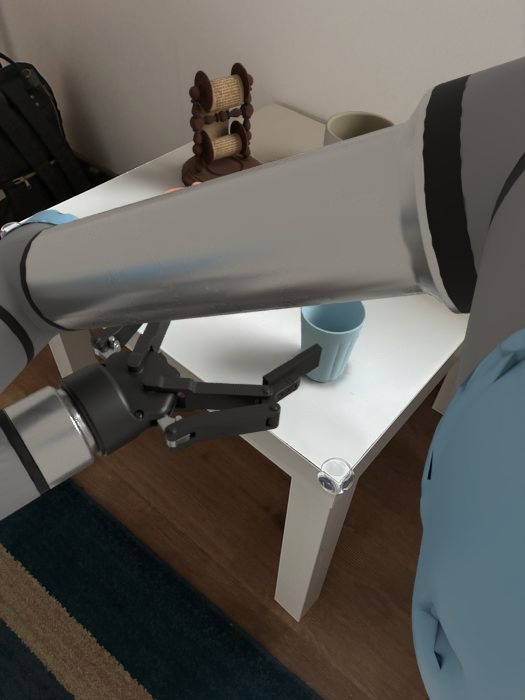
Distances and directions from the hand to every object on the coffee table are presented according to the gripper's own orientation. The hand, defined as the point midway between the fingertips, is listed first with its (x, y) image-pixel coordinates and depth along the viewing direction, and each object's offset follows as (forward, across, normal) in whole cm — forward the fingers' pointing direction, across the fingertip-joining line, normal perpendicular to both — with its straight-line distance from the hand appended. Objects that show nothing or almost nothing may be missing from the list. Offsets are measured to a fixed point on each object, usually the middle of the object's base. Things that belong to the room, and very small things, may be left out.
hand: (272, 313), depth 54 cm
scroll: (+25, -42, -16) cm, 51 cm away
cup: (+10, 0, -16) cm, 18 cm away
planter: (+44, -28, -16) cm, 54 cm away
